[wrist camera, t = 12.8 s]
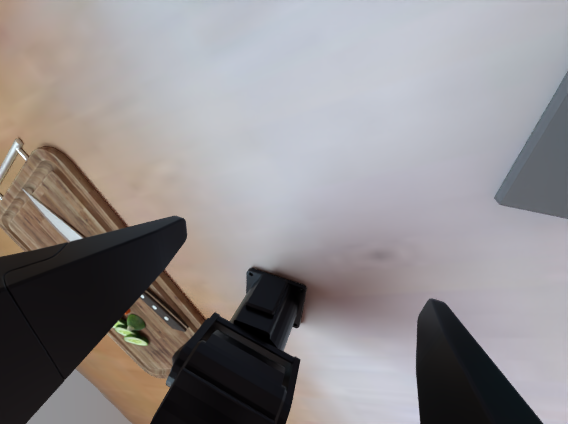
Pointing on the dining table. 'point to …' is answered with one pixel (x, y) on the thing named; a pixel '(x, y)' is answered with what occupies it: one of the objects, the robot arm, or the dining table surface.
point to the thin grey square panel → (542, 164)
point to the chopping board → (84, 223)
